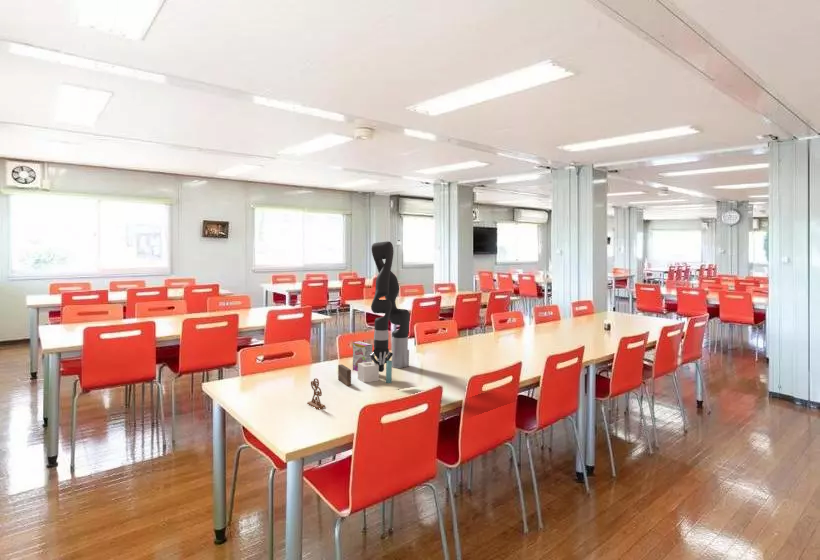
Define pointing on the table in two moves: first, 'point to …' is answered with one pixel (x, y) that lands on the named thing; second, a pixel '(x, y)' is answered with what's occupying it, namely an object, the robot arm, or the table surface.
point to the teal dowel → (388, 371)
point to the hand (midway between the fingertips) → (380, 371)
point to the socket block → (368, 372)
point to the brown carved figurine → (314, 401)
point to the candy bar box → (361, 353)
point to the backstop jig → (344, 375)
